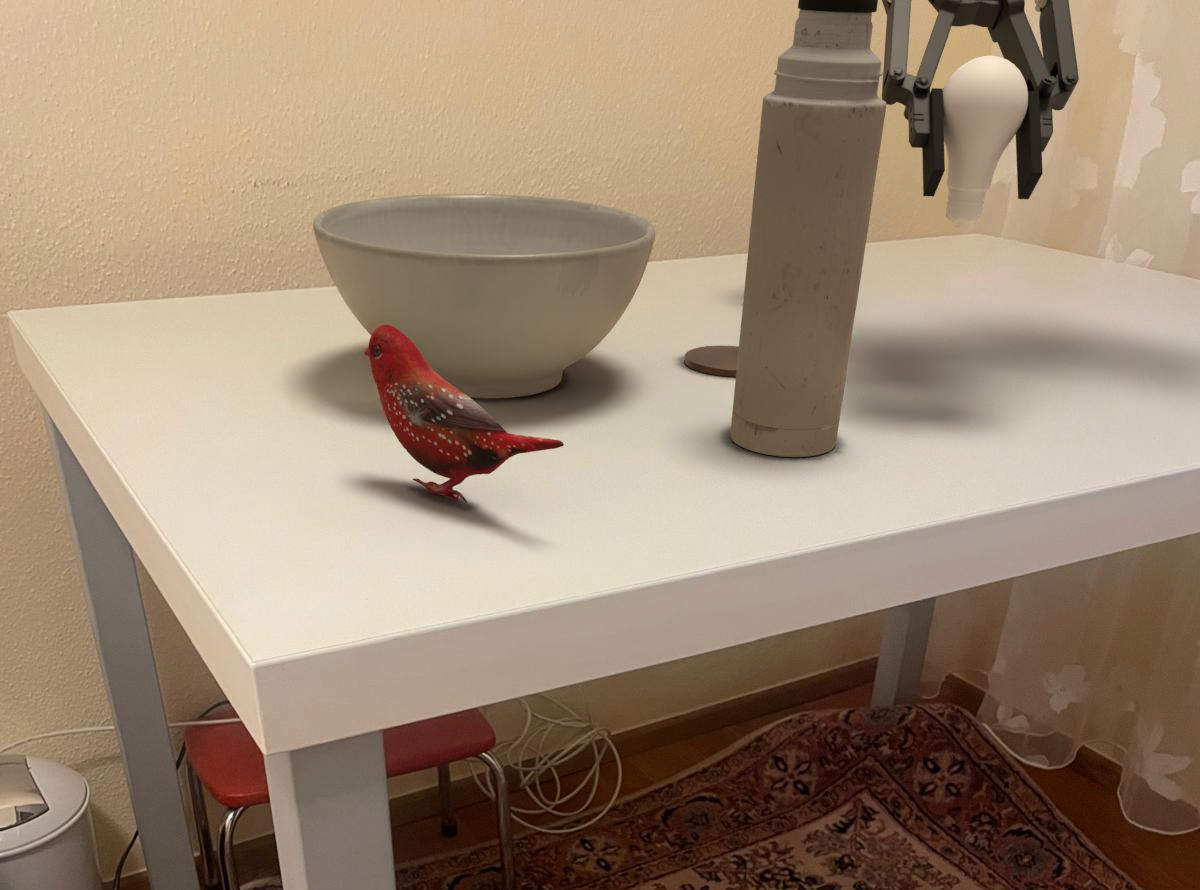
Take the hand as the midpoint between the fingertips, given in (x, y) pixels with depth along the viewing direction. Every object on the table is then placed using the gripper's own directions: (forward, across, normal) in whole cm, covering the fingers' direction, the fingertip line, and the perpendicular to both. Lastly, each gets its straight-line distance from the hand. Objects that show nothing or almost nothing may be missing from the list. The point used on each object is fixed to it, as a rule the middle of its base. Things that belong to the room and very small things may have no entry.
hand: (982, 184), depth 85 cm
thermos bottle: (+16, +13, -9) cm, 22 cm away
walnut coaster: (+1, +15, -23) cm, 28 cm away
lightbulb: (0, 0, -5) cm, 5 cm away
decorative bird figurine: (+27, +35, +2) cm, 44 cm away
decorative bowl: (+6, +36, -18) cm, 41 cm away
